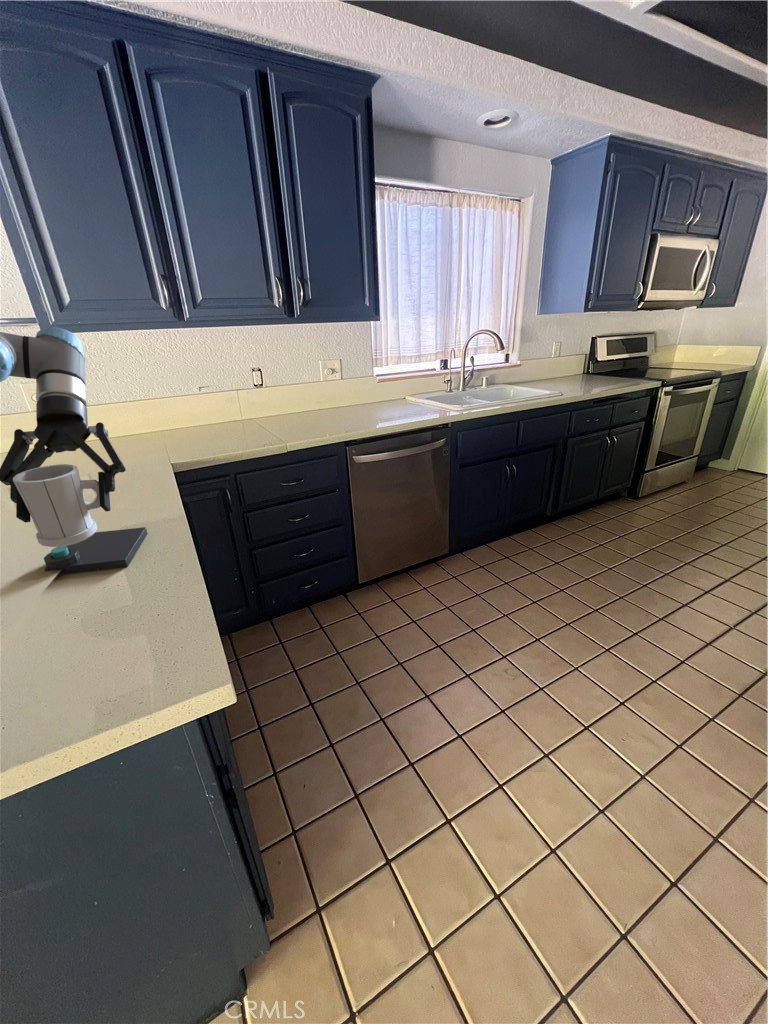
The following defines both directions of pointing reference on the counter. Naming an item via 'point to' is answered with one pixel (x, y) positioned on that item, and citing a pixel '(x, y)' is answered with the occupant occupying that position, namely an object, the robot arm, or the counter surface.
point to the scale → (99, 552)
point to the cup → (58, 503)
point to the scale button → (59, 552)
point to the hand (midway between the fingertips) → (65, 514)
